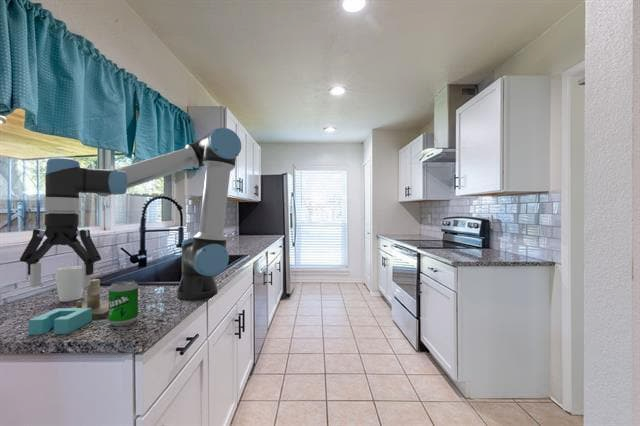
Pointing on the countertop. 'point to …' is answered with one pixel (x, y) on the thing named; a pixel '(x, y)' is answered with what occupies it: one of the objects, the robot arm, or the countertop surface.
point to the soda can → (123, 303)
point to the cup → (69, 283)
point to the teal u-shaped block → (60, 320)
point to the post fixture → (94, 301)
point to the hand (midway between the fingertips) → (60, 286)
